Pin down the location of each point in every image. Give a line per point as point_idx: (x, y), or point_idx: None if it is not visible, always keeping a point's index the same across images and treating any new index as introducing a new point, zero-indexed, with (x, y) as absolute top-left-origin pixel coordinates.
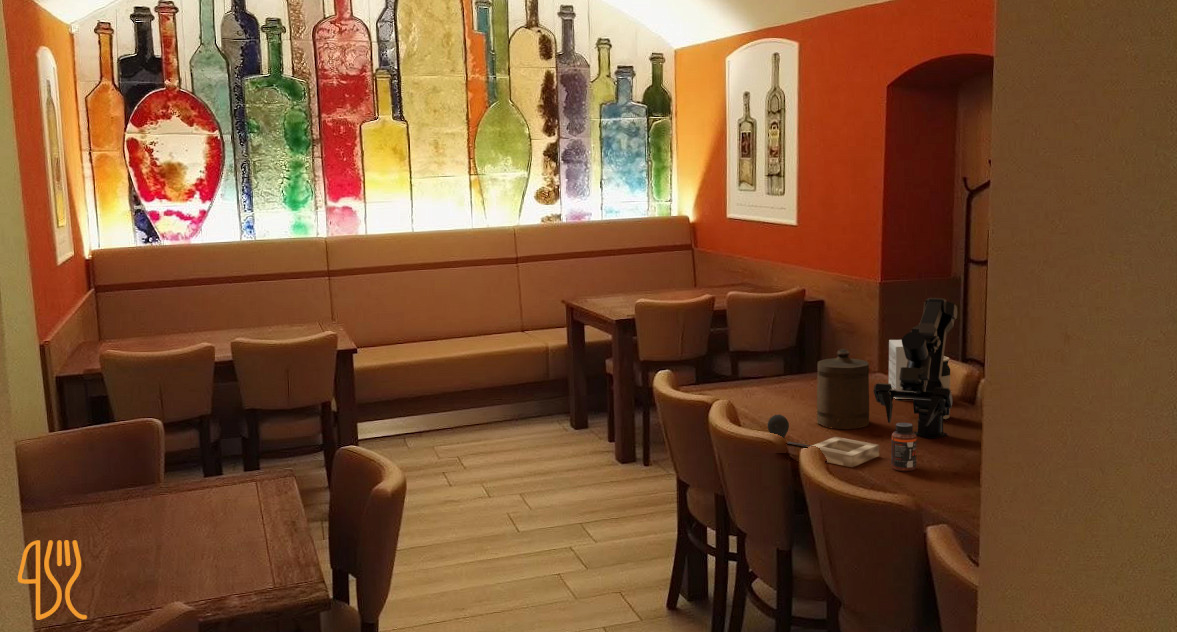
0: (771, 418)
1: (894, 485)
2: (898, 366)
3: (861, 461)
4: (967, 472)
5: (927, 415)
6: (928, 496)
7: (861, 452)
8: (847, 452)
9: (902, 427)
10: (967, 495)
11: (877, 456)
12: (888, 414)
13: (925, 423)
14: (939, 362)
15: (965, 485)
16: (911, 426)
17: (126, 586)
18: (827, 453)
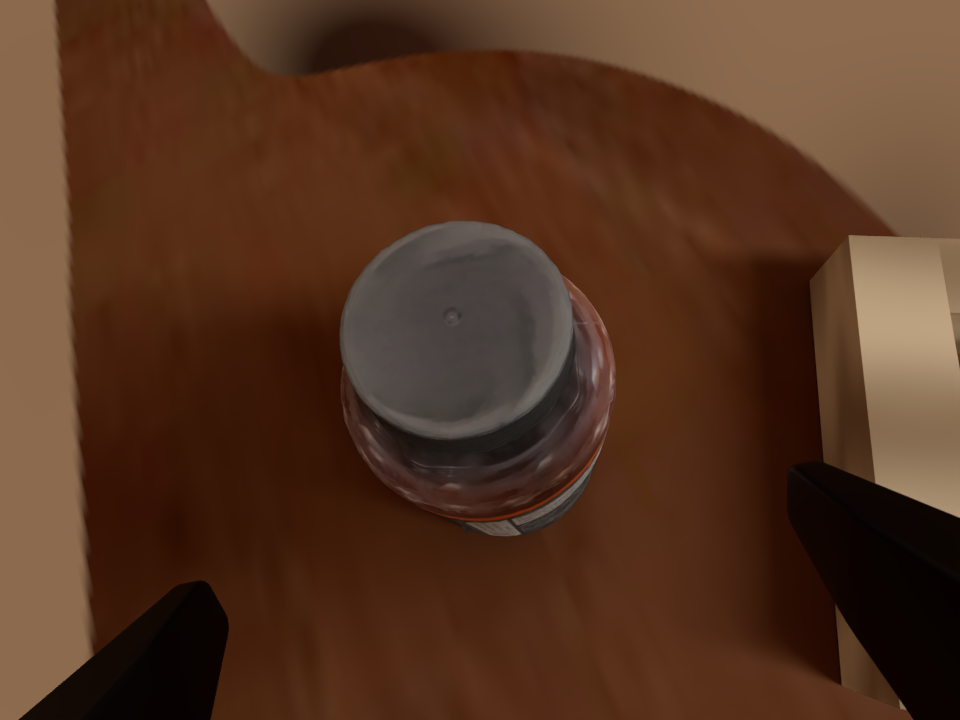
0: None
1: (427, 141)
2: None
3: (825, 394)
4: (107, 607)
5: (88, 698)
6: (236, 100)
7: (861, 372)
8: (946, 295)
9: (437, 227)
10: (77, 205)
11: (840, 656)
12: (894, 509)
13: (201, 586)
14: None
15: (97, 339)
16: (343, 315)
17: None
18: None
